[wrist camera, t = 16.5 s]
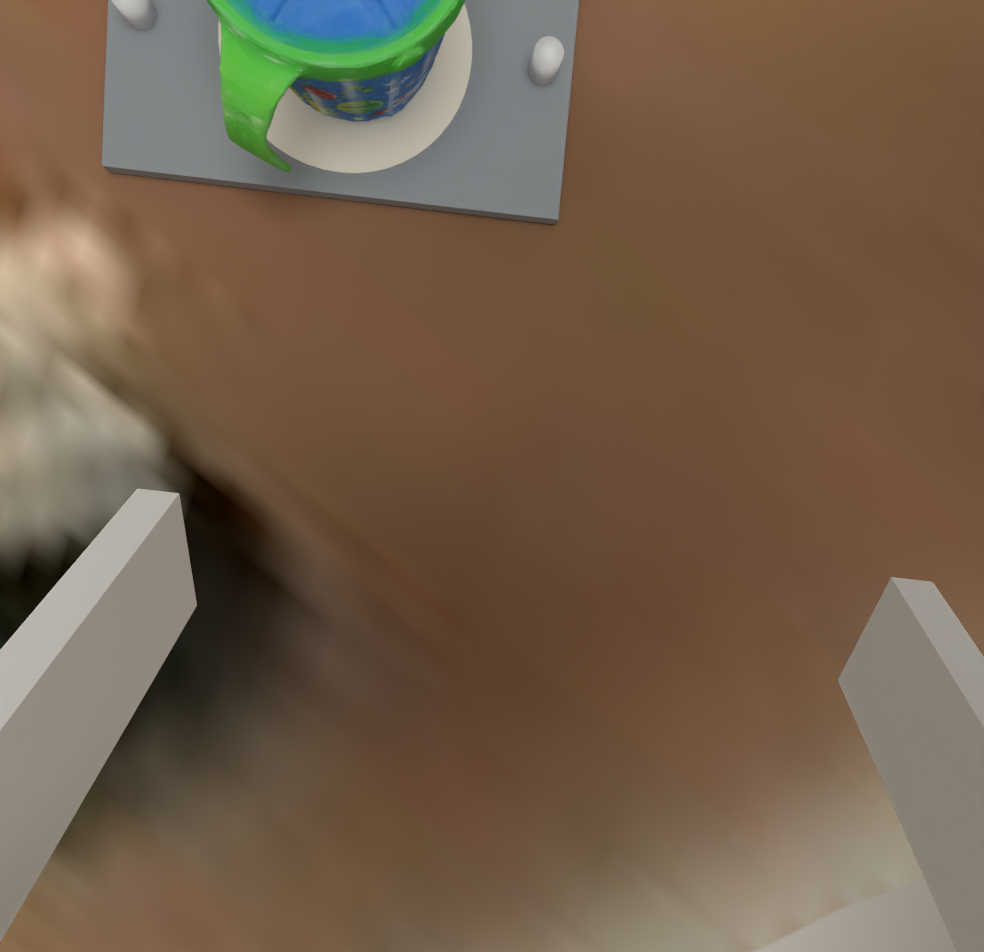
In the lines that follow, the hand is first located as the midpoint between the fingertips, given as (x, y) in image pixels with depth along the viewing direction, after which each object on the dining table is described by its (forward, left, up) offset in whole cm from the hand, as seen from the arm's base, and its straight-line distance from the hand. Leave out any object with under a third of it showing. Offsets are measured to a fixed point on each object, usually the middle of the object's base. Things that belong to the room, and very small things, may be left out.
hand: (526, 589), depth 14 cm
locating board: (+7, -20, -25) cm, 33 cm away
